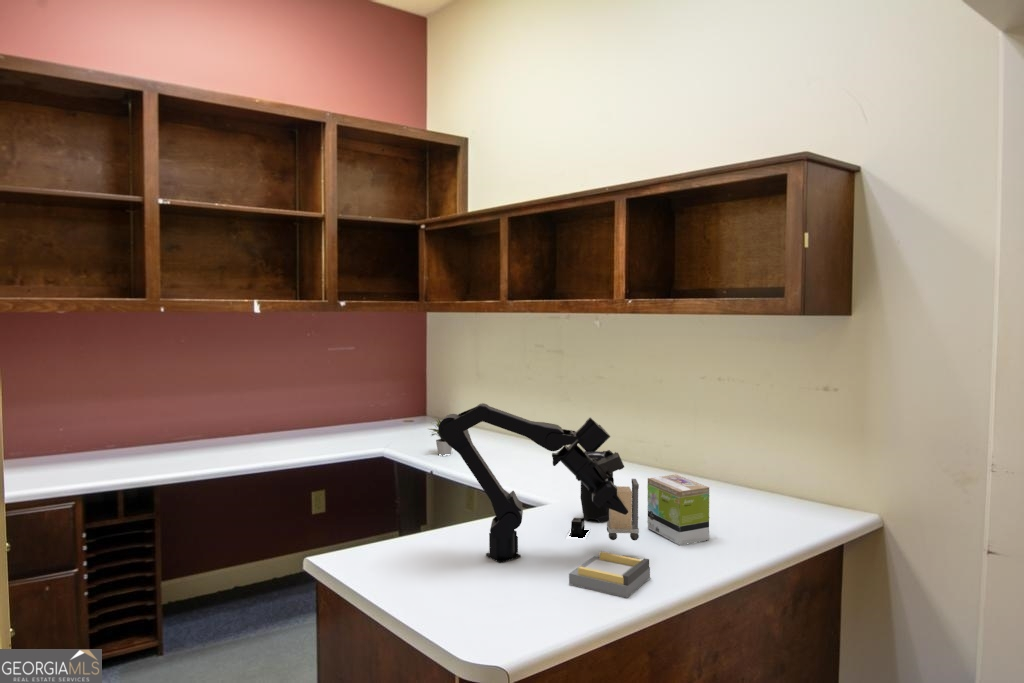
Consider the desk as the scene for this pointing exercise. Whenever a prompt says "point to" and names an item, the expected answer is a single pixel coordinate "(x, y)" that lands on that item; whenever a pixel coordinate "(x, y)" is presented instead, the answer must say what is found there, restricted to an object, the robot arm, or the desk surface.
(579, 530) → the build plate
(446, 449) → the house plant
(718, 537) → the desk surface
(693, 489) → the tea box
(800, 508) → the desk surface
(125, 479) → the desk surface
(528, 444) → the desk surface
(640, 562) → the dock
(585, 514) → the portable speaker
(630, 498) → the trolley
